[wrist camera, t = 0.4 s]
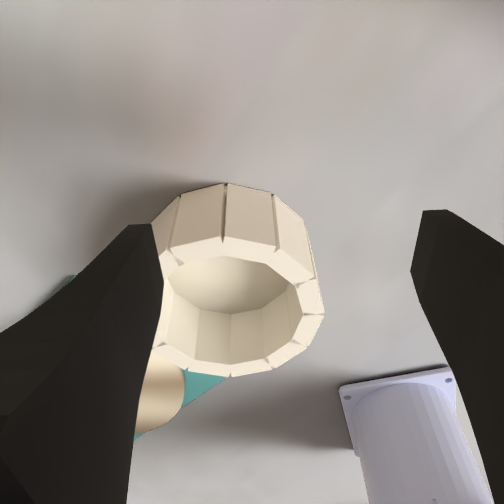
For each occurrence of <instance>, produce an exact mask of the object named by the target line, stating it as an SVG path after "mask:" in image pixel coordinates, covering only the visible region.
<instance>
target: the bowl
mask: <svg viewBox="0 0 504 504" xmlns="http://www.w3.org/2000/svg"><path fill="white" fill-rule="evenodd" d="M151 224H152V229H153V234H154V238H155V243H156V247H157V252H158V256H159V261H160V265H161V270H162V274H163V279H164V289H163V299H162V307H161V315H160V319H159V323H158V327H157V331H156V335H155V339H154V343H153V346H152V350H151V351H152V352H153V353H155V354H157V355H159V356H160V357H162V358H164V359H166V360H168V361H169V362H171V363H173V364H175V365H176V366H178V367H180V368H182V369H183V370H185V369H186V368H188V371H190V372H197V373H204V374H210V375H217V376H224V377H229V375H230V373H231V375H232V377H236V376H241V375H246V374H252V373H257V372H263V371H268V370H272V366H273V367H274V368H277V367H279V366H280V365H282V364H283V363H285V362H286V361H288V360H289V359H291V358H293V357H294V356H296V355H297V354H299V353H300V352H302V351H304V350H305V349H307V346H309V345H310V343H311V341H312V339H313V337H314V335H315V333H316V331H317V329H318V327H319V325H320V323H321V321H322V319H323V318H324V313H325V312H324V307H323V302H322V297H321V292H320V287H319V282H318V277H317V273H316V268H315V263H314V258H313V253H312V249H311V245H310V241H309V237H308V233H307V229H306V224H305V223H304V221H303V219H302V218H300V217H299V216H298V215H297V214H296V213H295V212H294V211H292V210H291V209H290V208H289V207H288V206H287V205H286V204H285V203H283V202H282V201H281V200H280V199H279V198H278V197H277V196H275V195H273V196H271V193H270V192H265V191H261V190H256V189H252V188H247V187H243V186H238V185H234V184H229V183H228V184H227V186H224V183H223V184H219V185H215V186H211V187H207V188H203V189H199V190H195V191H191V192H187V193H183V194H181V197H179V196H177V197H176V198H175V199H174V200H173V201H172V202H171V203H170V204H169V205H168V206H167V207H166V208H165V209H164V210H163V211H162V212H161V213H160V214H159V215H158V216H157V217H156V218H155V219H154V220H153V221H152V222H151Z"/></svg>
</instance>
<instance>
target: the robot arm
mask: <svg viewBox="0 0 504 504" xmlns="http://www.w3.org/2000/svg"><path fill="white" fill-rule="evenodd" d="M410 272H411V275H412V279H413V282H414V286H415V289H416V292H417V296H418V299H419V302H420V304H421V306H422V309H423V311H424V313H425V315H426V317H427V319H428V322H429V324H430V326H431V328H432V330H433V332H434V334H435V336H436V339H437V341H438V343H439V345H440V347H441V349H442V351H443V353H444V355H445V358H446V360H447V362H448V364H449V366H450V367H445V368H439V369H434V370H428V371H422V372H417V373H411V374H405V375H400V376H394V377H388V378H383V379H377V380H371V381H366V382H360V383H355V384H349V385H344V386H341V387H340V388H339V395H340V399H341V403H342V406H343V410H344V414H345V418H346V422H347V426H348V429H349V433H350V437H351V441H352V445H353V449H354V452H355V455H356V456H358V457H360V462H361V466H362V471H363V476H364V481H365V485H366V490H367V495H368V499H369V504H493V501H492V499H491V497H490V494H489V492H488V489H487V487H486V485H485V482H484V480H483V478H482V475H481V473H480V471H479V468H478V466H477V463H476V461H475V459H474V456H473V454H472V452H471V449H470V447H469V445H468V442H467V440H466V437H465V435H464V433H463V430H462V428H461V426H460V423H459V421H458V418H457V416H456V382H457V384H458V387H459V390H460V393H461V395H462V398H463V401H464V404H465V407H466V410H467V413H468V416H469V419H470V422H471V425H472V428H473V431H474V435H475V438H476V441H477V444H478V447H479V450H480V454H481V457H482V460H483V464H484V467H485V471H486V474H487V478H488V482H489V485H490V489H491V492H492V496H493V499H494V503H495V504H504V245H503V244H501V243H500V242H498V241H496V240H495V239H493V238H492V237H490V236H489V235H487V234H485V233H484V232H482V231H481V230H479V229H478V228H476V227H475V226H473V225H472V224H470V223H469V222H467V221H465V220H464V219H462V218H461V217H459V216H457V215H456V214H454V213H452V212H450V211H448V210H447V209H445V210H425V211H423V213H422V218H421V223H420V227H419V232H418V237H417V242H416V246H415V251H414V256H413V260H412V265H411V270H410ZM163 289H164V279H163V274H162V270H161V265H160V261H159V256H158V252H157V247H156V243H155V238H154V234H153V229H152V224H138V225H128V226H127V227H126V228H125V229H124V230H123V231H122V232H121V233H120V234H119V235H118V236H117V237H116V238H115V239H114V240H113V241H112V242H111V243H110V244H109V245H108V246H107V247H106V248H105V249H104V250H103V251H102V252H101V253H100V254H99V255H98V256H97V257H96V258H95V259H94V260H93V261H92V262H91V263H90V264H89V265H88V266H87V267H86V268H85V269H84V270H82V271H81V272H80V273H79V274H78V275H77V276H76V277H75V278H73V279H72V280H71V281H70V282H69V283H68V284H67V285H65V286H64V287H63V288H62V289H61V290H60V291H59V292H57V293H56V294H55V295H54V296H53V297H51V298H50V299H49V300H47V301H46V302H45V303H44V304H42V305H41V306H40V307H38V308H37V309H35V310H34V311H33V312H31V313H30V314H29V315H27V316H26V317H24V318H23V319H21V320H20V321H19V322H17V323H15V324H14V325H12V326H11V327H9V328H7V329H6V330H4V331H3V332H1V333H0V504H126V501H127V492H128V483H129V473H130V465H131V457H132V449H133V441H134V434H135V427H136V420H137V413H138V406H139V399H140V395H141V390H142V385H143V381H144V377H145V373H146V370H147V366H148V362H149V358H150V354H151V350H152V346H153V343H154V339H155V335H156V331H157V327H158V323H159V319H160V315H161V307H162V299H163Z"/></svg>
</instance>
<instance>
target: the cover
mask: <svg viewBox="0 0 504 504" xmlns="http://www.w3.org/2000/svg"><path fill="white" fill-rule="evenodd" d="M184 391H185V374H184V370H183V369H182V368H180V367H178V366H176V365H175V364H173V363H171V362H169V361H168V360H166V359H164V358H162V357H160V356H159V355H157V354H155V353H153V352H152V351H151V354H150V358H149V362H148V366H147V370H146V373H145V377H144V381H143V385H142V390H141V395H140V399H139V406H138V413H137V420H136V427H135V434H139V433H144V432H147V431H150V430H153V429H155V428H157V427H160V426H161V425H163V424H165V423H167V422H168V421H169V420H170V419H172V418H173V417H174V416H175V415H176V414H177V412H178V411H179V409H180V408H181V405H182V403H183V398H184Z"/></svg>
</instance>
